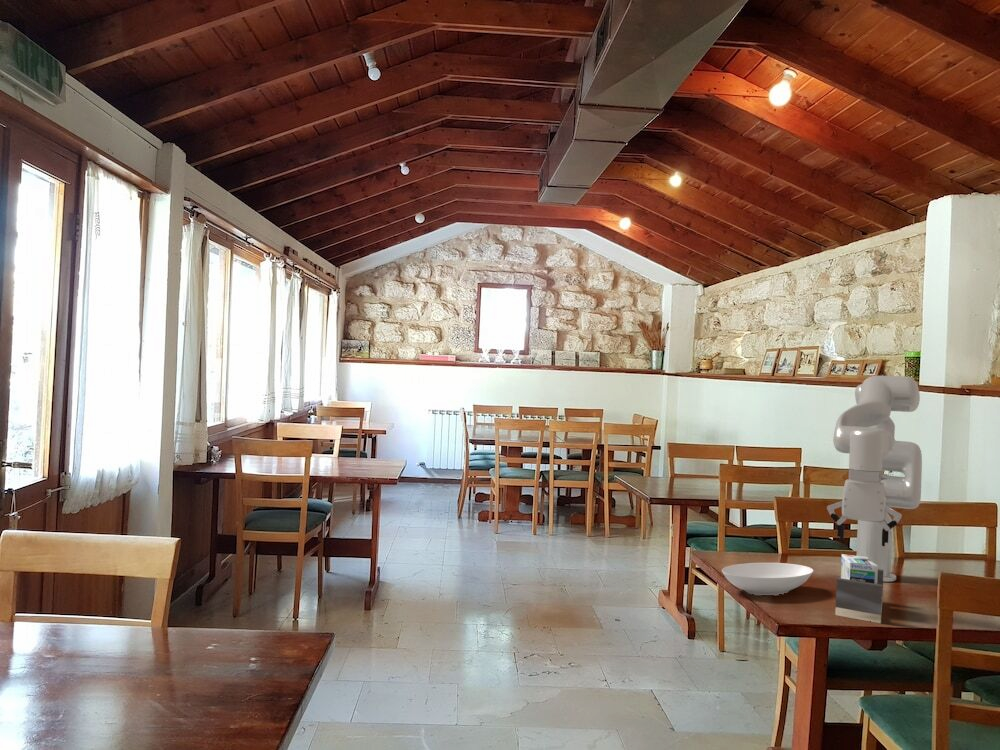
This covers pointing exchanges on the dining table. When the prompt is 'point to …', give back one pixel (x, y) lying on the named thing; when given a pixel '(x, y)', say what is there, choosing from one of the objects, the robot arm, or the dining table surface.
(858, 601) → the grey phone stand
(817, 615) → the dining table surface
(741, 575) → the bowl
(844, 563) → the light bulb box
